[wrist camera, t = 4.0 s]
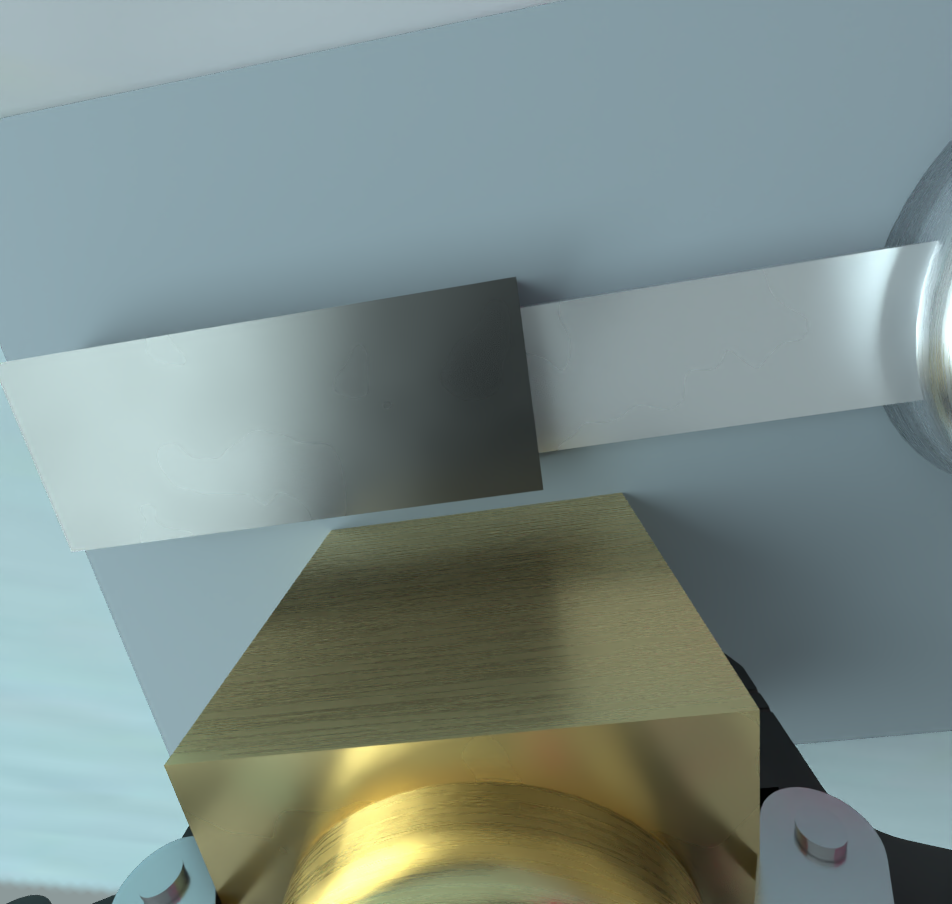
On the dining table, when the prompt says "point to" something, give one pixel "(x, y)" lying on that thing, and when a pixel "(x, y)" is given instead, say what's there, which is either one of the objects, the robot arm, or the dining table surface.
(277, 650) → the brass knob block
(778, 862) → the robot arm
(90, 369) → the metal ladle
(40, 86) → the dining table surface
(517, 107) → the mat
